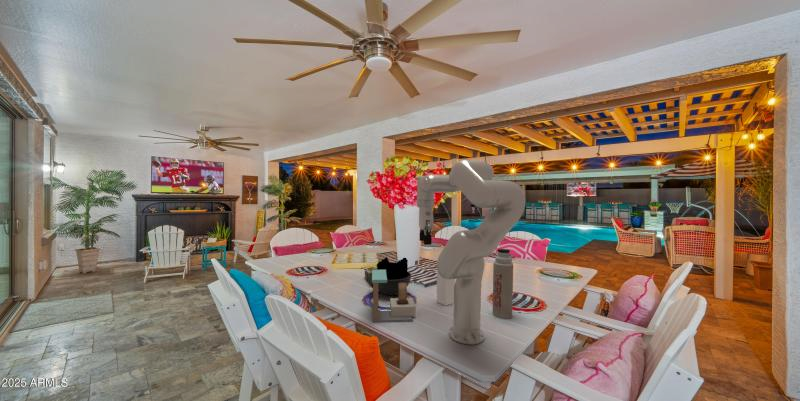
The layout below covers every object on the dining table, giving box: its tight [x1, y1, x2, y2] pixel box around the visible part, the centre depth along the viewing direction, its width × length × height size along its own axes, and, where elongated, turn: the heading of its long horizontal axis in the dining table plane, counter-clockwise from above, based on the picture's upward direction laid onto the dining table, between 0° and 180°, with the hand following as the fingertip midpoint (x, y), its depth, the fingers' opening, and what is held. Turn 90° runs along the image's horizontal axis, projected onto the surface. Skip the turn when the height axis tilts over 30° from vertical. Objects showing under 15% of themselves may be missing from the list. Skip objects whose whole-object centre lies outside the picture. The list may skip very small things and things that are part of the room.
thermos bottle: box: [492, 248, 514, 320], centre depth 125 cm, size 8×8×28 cm
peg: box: [397, 282, 408, 305], centre depth 125 cm, size 4×4×12 cm
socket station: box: [372, 270, 417, 324], centre depth 125 cm, size 16×18×17 cm
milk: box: [436, 270, 456, 307], centre depth 138 cm, size 6×6×22 cm
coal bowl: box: [375, 256, 412, 296], centre depth 149 cm, size 20×20×19 cm
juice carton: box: [364, 267, 377, 289], centre depth 169 cm, size 20×10×6 cm, turn 20°
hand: (425, 242), depth 130 cm, fingers open, 9 cm apart
